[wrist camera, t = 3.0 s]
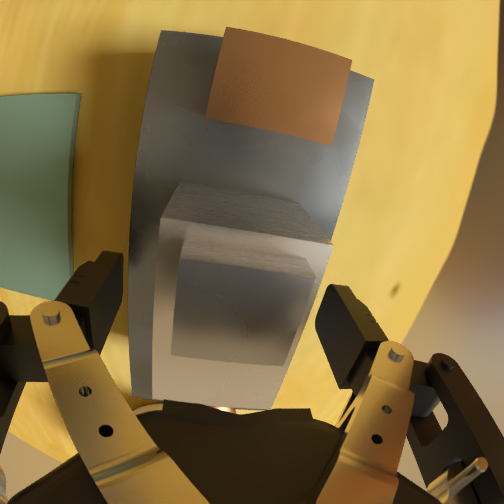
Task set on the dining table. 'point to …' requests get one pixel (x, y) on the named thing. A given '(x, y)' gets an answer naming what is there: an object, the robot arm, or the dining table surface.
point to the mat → (37, 192)
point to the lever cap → (231, 294)
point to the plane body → (237, 143)
